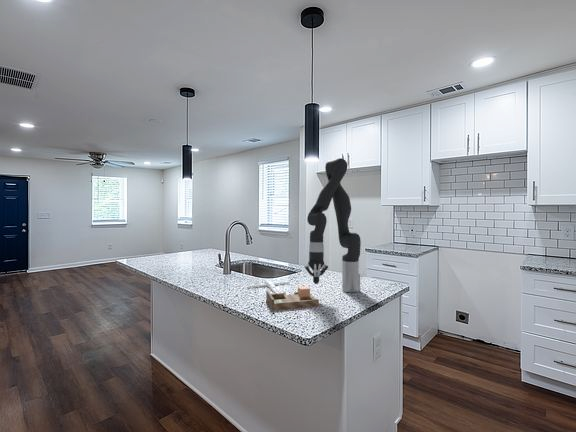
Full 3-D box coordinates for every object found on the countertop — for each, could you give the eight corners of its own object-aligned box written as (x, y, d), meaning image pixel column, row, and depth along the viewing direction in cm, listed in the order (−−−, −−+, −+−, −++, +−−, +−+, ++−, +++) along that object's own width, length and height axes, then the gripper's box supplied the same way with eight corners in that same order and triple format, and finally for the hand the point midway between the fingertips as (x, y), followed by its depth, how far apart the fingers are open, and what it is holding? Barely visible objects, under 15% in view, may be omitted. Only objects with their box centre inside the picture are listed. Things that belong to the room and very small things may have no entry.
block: (307, 293, 161) (307, 286, 161) (310, 296, 156) (310, 288, 156) (298, 294, 160) (297, 286, 160) (300, 297, 155) (300, 289, 155)
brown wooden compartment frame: (308, 296, 163) (308, 287, 163) (318, 305, 148) (318, 295, 148) (266, 300, 158) (266, 290, 158) (272, 310, 142) (272, 299, 142)
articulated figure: (258, 294, 158) (244, 279, 186) (258, 302, 159) (244, 285, 187) (305, 289, 168) (286, 275, 196) (305, 296, 168) (286, 281, 196)
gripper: (325, 249, 164) (325, 281, 164) (302, 249, 161) (301, 282, 161) (331, 251, 157) (330, 284, 157) (306, 251, 154) (306, 286, 154)
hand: (316, 283), depth 159 cm, fingers closed
